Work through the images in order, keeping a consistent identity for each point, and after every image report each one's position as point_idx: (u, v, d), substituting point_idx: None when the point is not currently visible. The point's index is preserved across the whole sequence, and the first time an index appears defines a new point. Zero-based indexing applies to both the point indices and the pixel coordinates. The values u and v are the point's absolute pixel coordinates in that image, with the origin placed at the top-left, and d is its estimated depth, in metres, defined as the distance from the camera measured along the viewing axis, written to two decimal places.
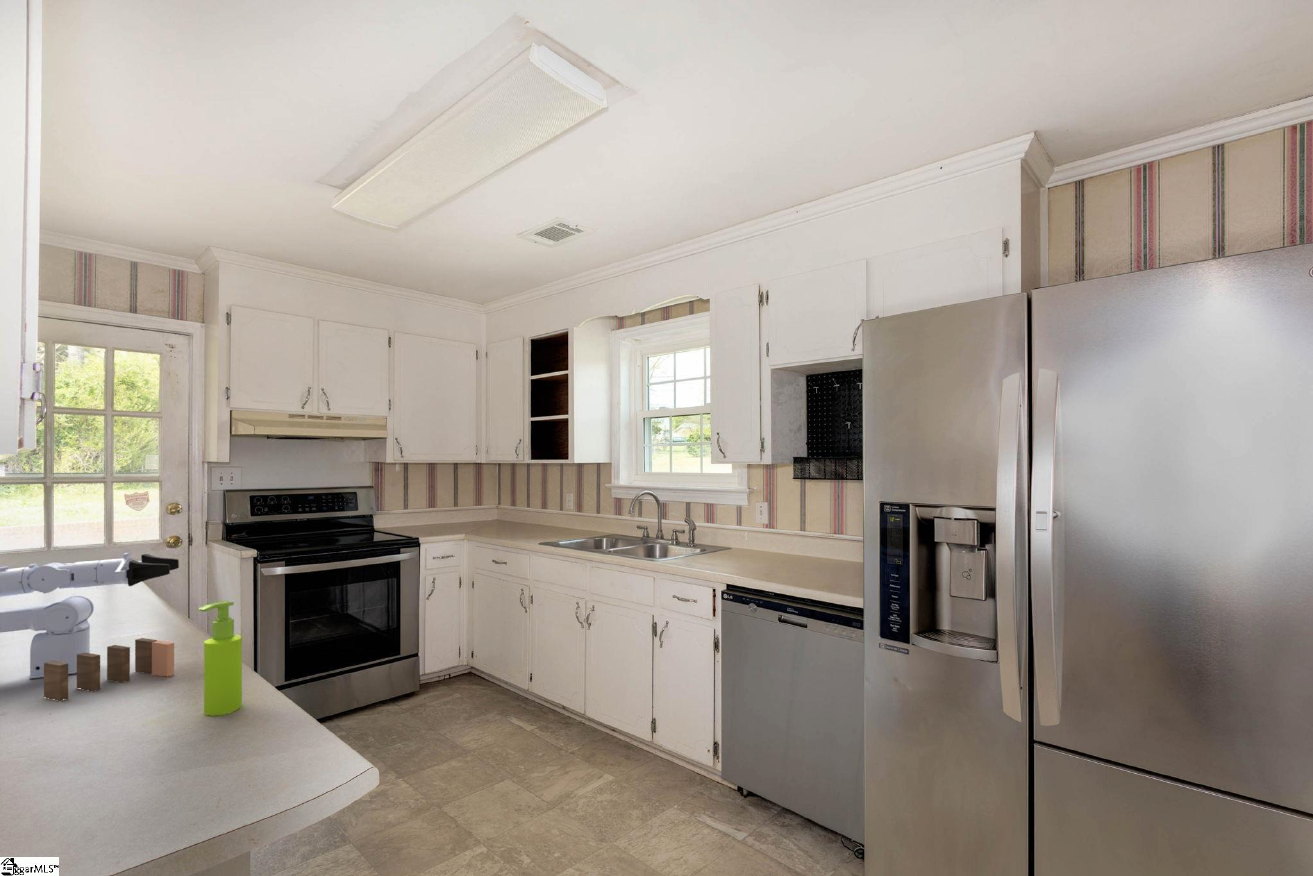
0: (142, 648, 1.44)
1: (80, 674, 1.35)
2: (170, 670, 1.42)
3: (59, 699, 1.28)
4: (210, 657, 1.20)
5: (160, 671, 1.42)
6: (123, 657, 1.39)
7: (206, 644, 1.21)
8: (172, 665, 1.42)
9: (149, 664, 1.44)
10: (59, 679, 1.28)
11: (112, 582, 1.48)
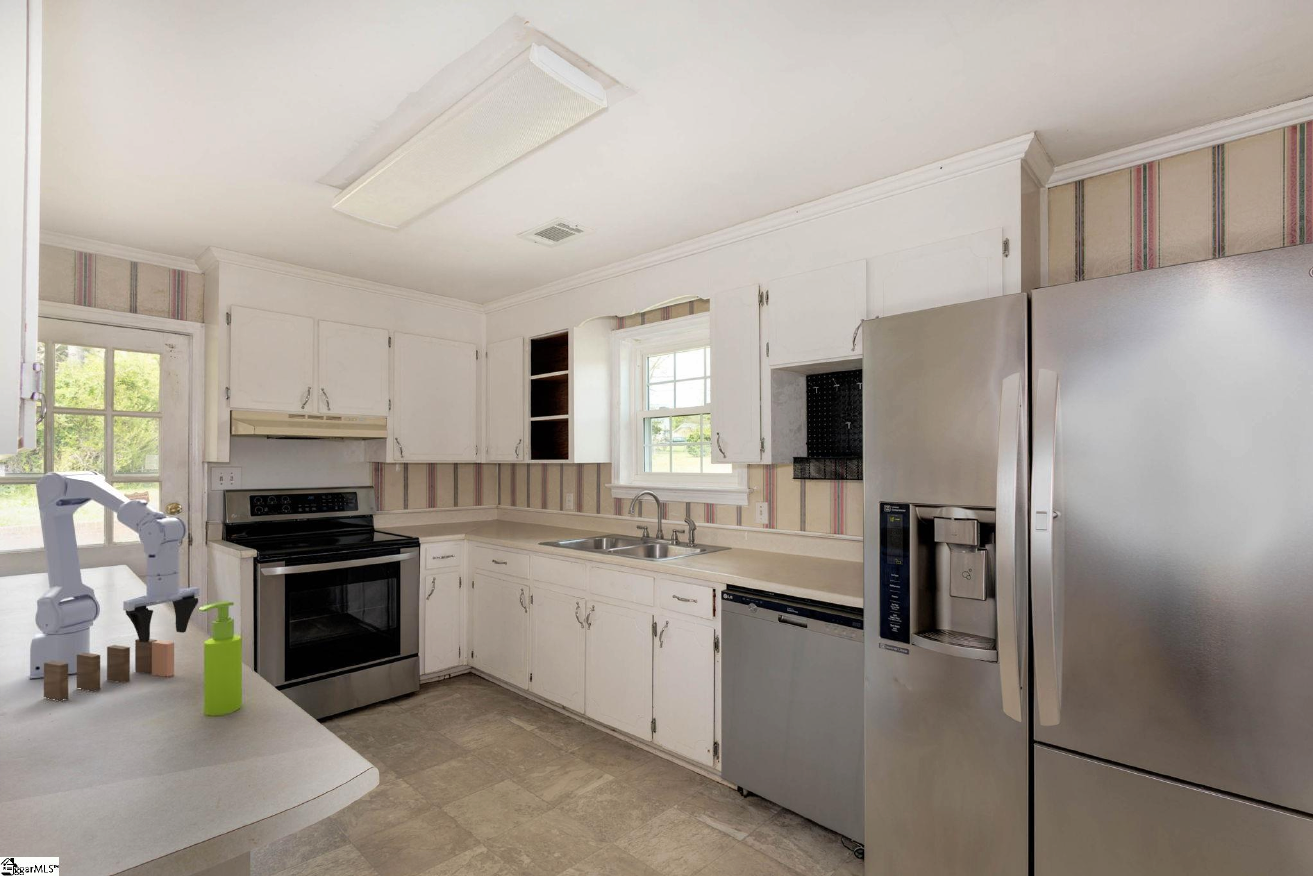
0: (142, 648, 1.44)
1: (80, 674, 1.35)
2: (170, 670, 1.42)
3: (59, 699, 1.28)
4: (210, 658, 1.20)
5: (160, 671, 1.42)
6: (123, 657, 1.39)
7: (206, 644, 1.21)
8: (172, 665, 1.42)
9: (149, 664, 1.44)
10: (59, 679, 1.28)
11: None
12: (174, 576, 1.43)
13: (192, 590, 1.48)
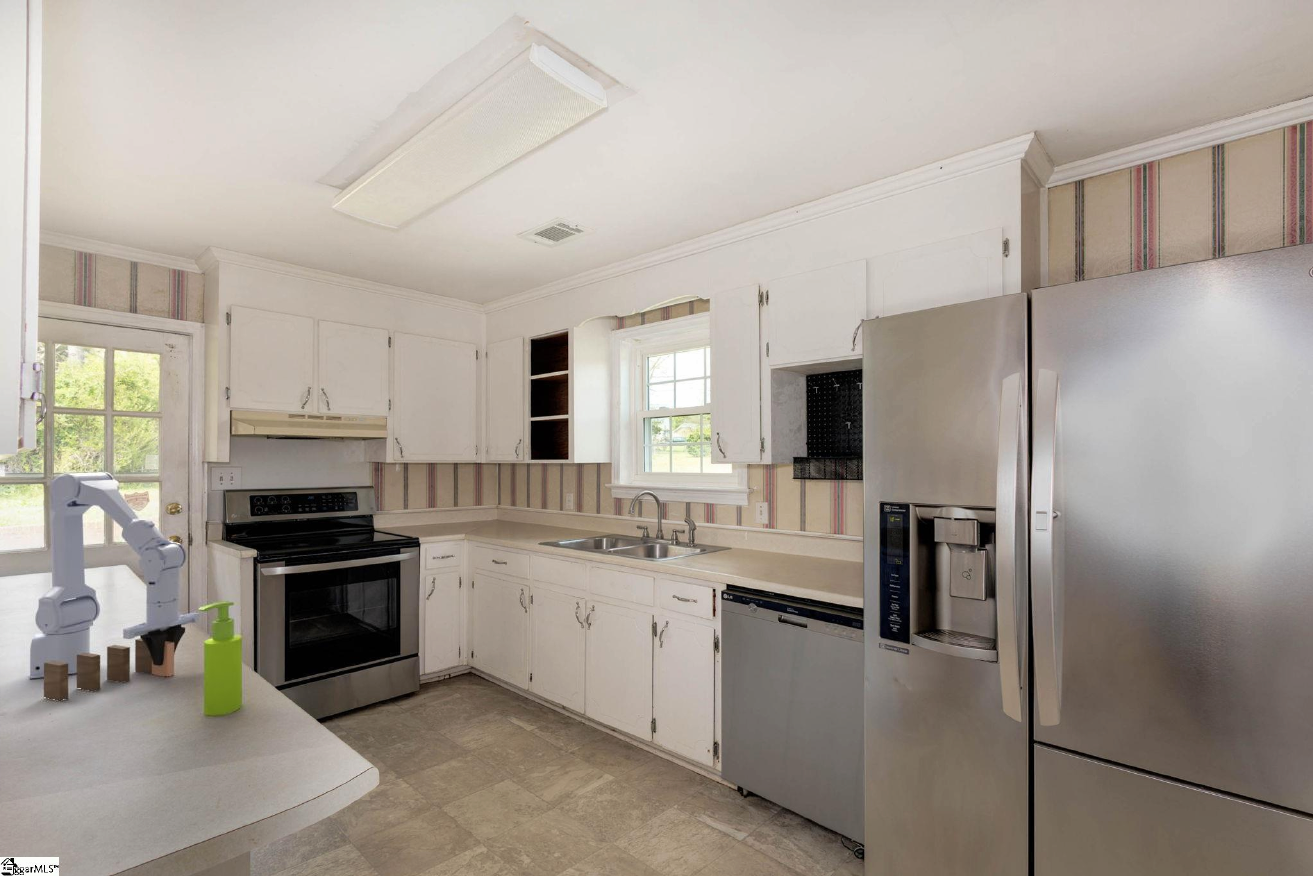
0: (142, 648, 1.44)
1: (80, 674, 1.35)
2: (170, 670, 1.42)
3: (59, 699, 1.28)
4: (210, 658, 1.20)
5: (160, 671, 1.42)
6: (123, 657, 1.39)
7: (206, 644, 1.21)
8: (172, 665, 1.42)
9: (149, 664, 1.44)
10: (59, 679, 1.28)
11: None
12: (174, 603, 1.43)
13: (192, 616, 1.48)
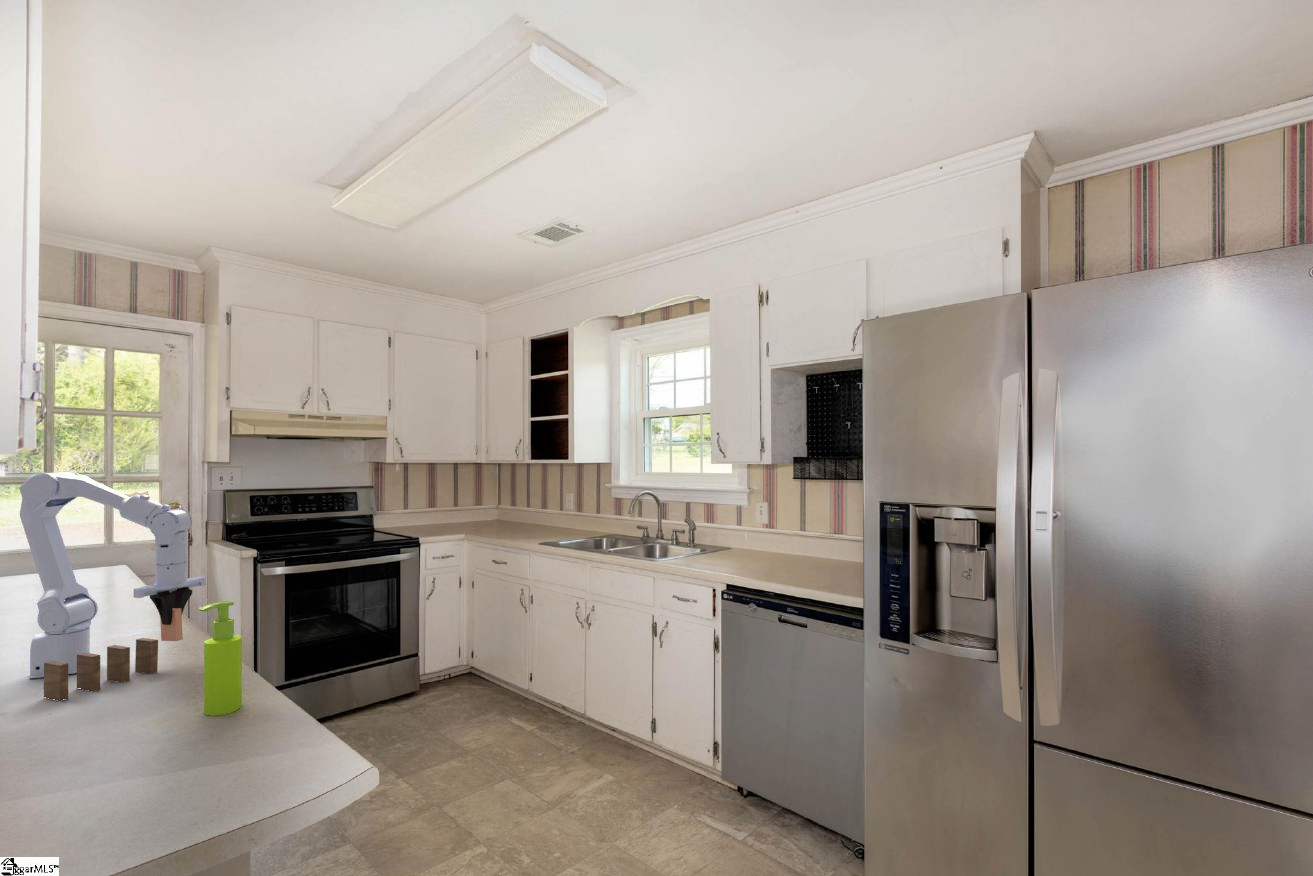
0: (143, 648, 1.45)
1: (80, 674, 1.35)
2: (179, 634, 1.48)
3: (59, 699, 1.28)
4: (210, 658, 1.20)
5: (169, 636, 1.49)
6: (123, 657, 1.39)
7: (206, 644, 1.21)
8: (180, 630, 1.49)
9: (149, 664, 1.44)
10: (59, 679, 1.28)
11: None
12: (182, 565, 1.49)
13: (199, 579, 1.54)
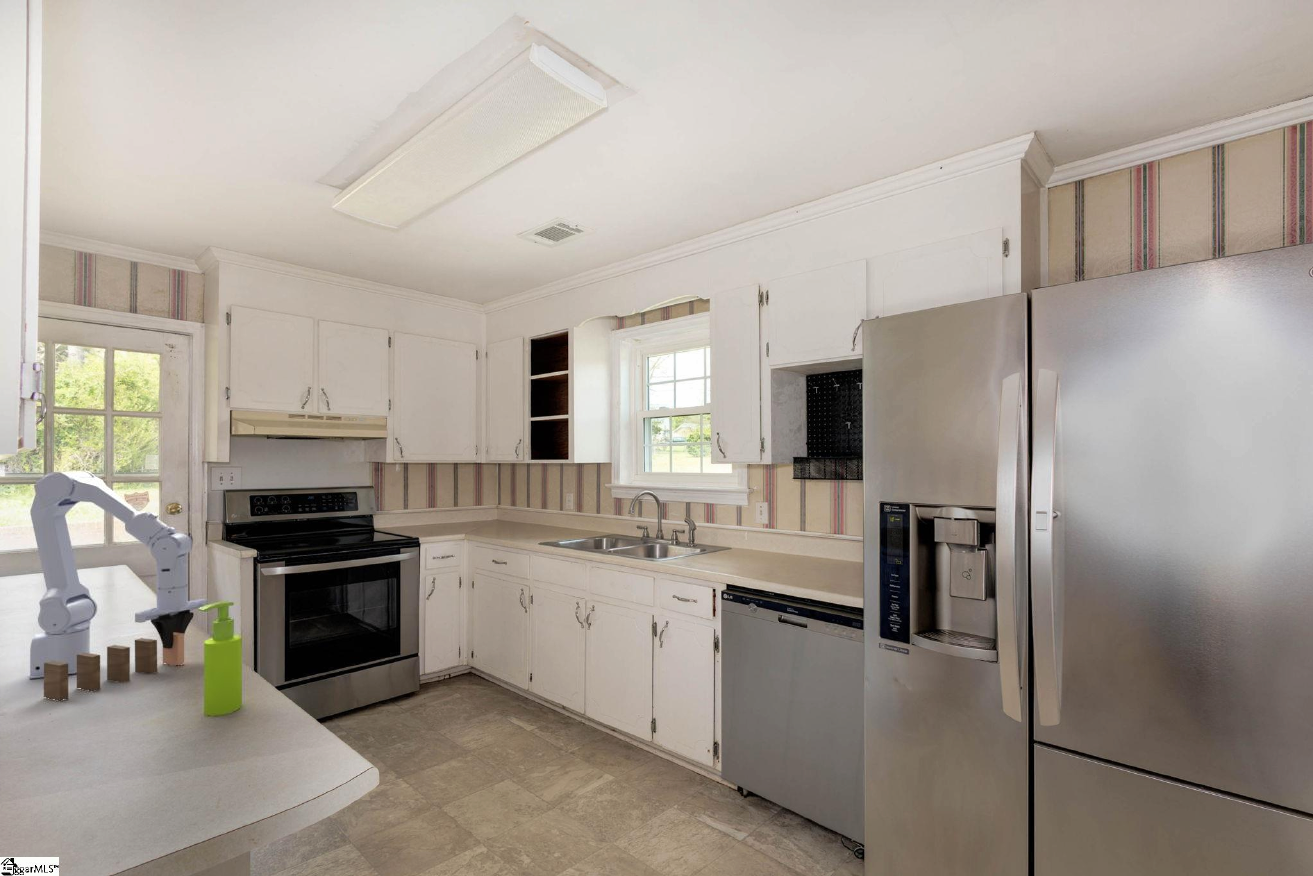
0: (142, 648, 1.44)
1: (80, 674, 1.35)
2: (180, 659, 1.49)
3: (59, 699, 1.28)
4: (210, 658, 1.20)
5: (171, 660, 1.49)
6: (123, 657, 1.39)
7: (206, 644, 1.21)
8: (182, 655, 1.50)
9: (149, 664, 1.44)
10: (59, 679, 1.28)
11: None
12: (183, 589, 1.50)
13: (200, 602, 1.55)
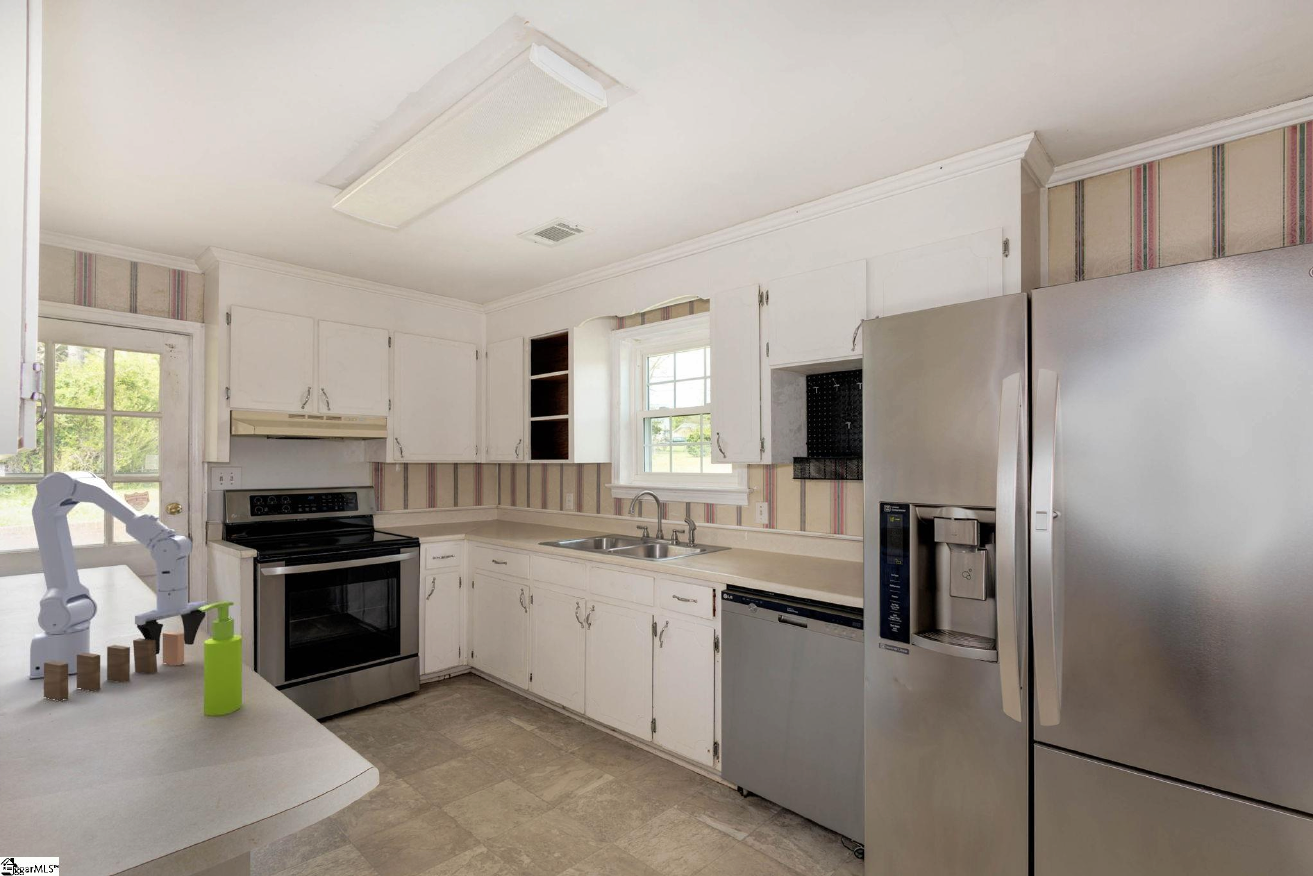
0: (140, 648, 1.44)
1: (80, 674, 1.35)
2: (180, 659, 1.49)
3: (59, 699, 1.28)
4: (210, 658, 1.20)
5: (171, 660, 1.49)
6: (123, 657, 1.39)
7: (206, 644, 1.21)
8: (182, 655, 1.50)
9: (149, 664, 1.43)
10: (59, 679, 1.28)
11: None
12: (183, 591, 1.50)
13: (199, 604, 1.55)
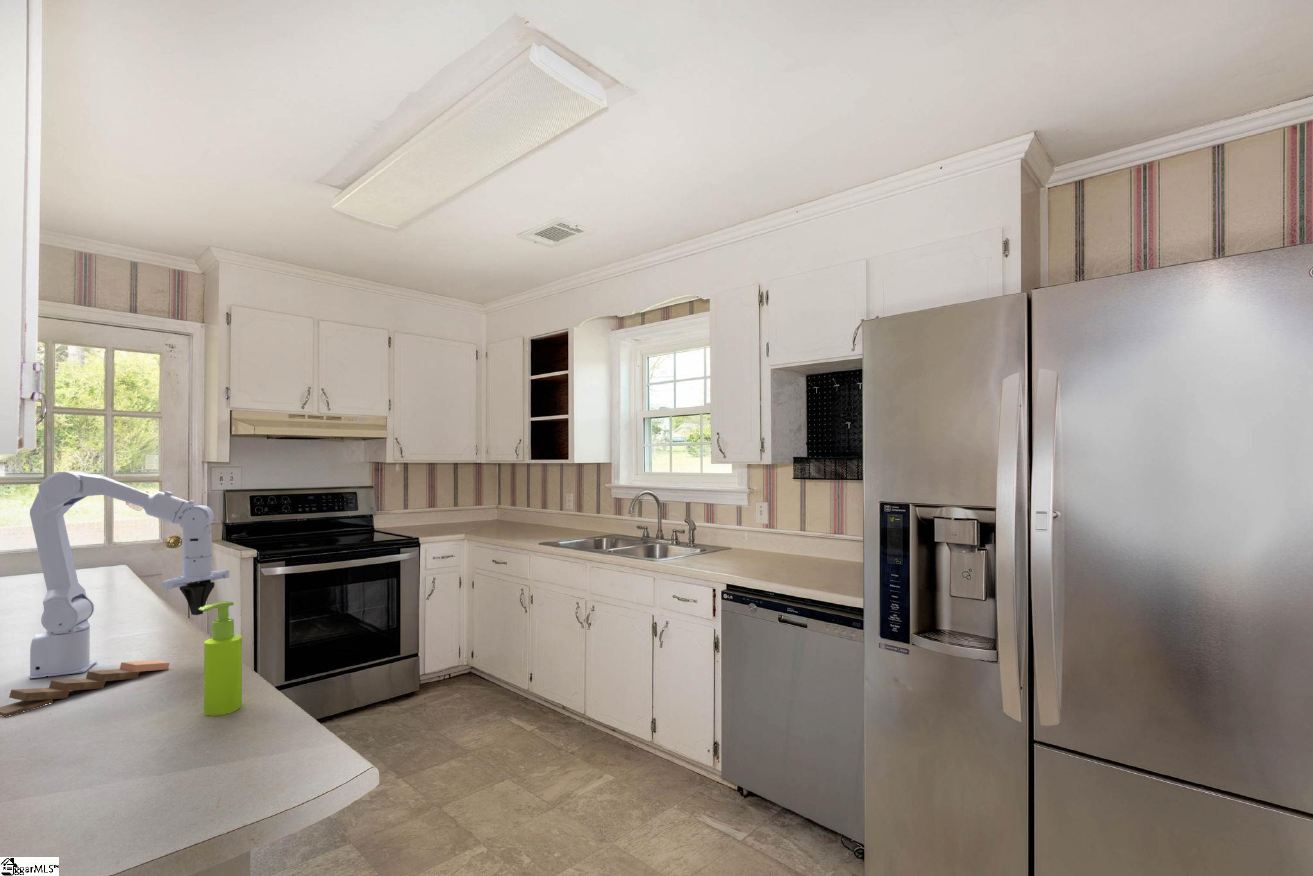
0: None
1: None
2: (163, 666, 1.46)
3: None
4: (210, 658, 1.20)
5: None
6: (74, 689, 1.31)
7: (206, 644, 1.21)
8: (159, 664, 1.45)
9: None
10: None
11: None
12: (207, 558, 1.55)
13: (223, 572, 1.60)
